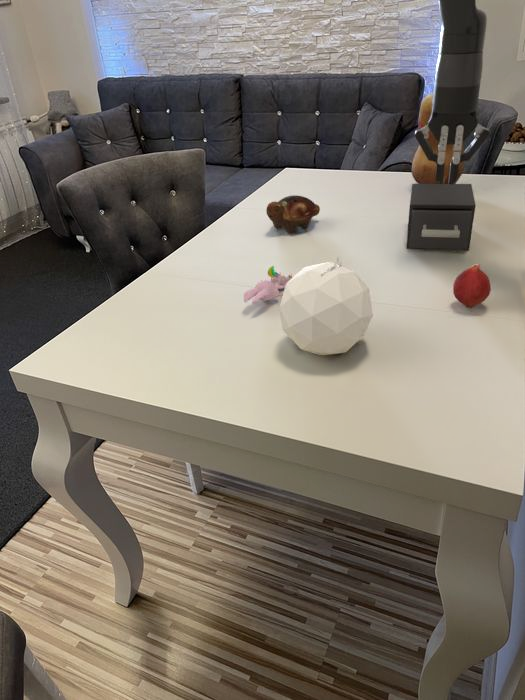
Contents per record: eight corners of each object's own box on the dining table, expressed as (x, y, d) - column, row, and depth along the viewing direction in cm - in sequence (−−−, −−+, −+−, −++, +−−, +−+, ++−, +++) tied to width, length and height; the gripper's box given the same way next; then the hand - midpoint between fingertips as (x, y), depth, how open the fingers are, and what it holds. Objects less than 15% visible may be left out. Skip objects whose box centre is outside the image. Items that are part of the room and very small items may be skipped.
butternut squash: (402, 186, 150) (409, 88, 137) (447, 181, 152) (458, 83, 138) (423, 201, 139) (434, 95, 125) (472, 194, 140) (487, 90, 127)
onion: (450, 313, 90) (456, 270, 85) (450, 298, 94) (456, 255, 90) (487, 316, 88) (495, 272, 84) (486, 300, 93) (493, 257, 88)
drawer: (468, 259, 105) (473, 220, 101) (408, 256, 108) (411, 219, 104) (463, 226, 120) (468, 191, 116) (411, 225, 123) (414, 191, 118)
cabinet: (468, 250, 111) (475, 205, 106) (406, 248, 114) (409, 204, 109) (465, 225, 122) (471, 183, 117) (408, 224, 126) (412, 183, 120)
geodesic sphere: (302, 278, 92) (282, 233, 79) (386, 287, 87) (379, 240, 74) (281, 360, 87) (256, 326, 74) (368, 374, 82) (358, 340, 70)
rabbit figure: (271, 285, 106) (233, 308, 94) (271, 256, 104) (232, 276, 92) (300, 290, 104) (264, 314, 92) (301, 260, 101) (264, 281, 89)
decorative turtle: (256, 233, 128) (254, 199, 124) (301, 220, 136) (300, 188, 132) (284, 240, 121) (283, 205, 117) (329, 226, 130) (330, 192, 126)
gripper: (415, 86, 91) (407, 189, 100) (502, 83, 87) (485, 189, 97) (416, 80, 97) (409, 177, 106) (497, 77, 93) (482, 177, 103)
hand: (445, 183), depth 101 cm, fingers closed
